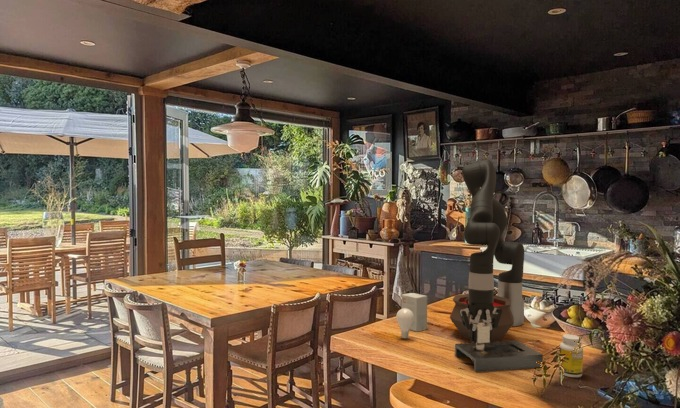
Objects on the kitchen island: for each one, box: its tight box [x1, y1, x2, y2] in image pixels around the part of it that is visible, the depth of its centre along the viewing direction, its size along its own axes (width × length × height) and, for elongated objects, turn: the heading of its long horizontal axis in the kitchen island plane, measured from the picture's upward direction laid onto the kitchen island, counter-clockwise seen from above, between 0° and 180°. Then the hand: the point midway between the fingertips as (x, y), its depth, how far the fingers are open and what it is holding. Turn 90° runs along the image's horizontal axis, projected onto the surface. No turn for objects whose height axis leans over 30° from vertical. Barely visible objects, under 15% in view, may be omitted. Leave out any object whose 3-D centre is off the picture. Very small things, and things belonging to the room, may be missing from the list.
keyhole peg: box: [471, 323, 490, 364], centre depth 145 cm, size 5×5×12 cm
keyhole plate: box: [454, 339, 544, 373], centre depth 146 cm, size 22×14×4 cm, turn 101°
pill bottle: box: [558, 333, 584, 378], centre depth 137 cm, size 6×6×11 cm
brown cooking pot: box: [449, 288, 514, 342], centre depth 172 cm, size 24×24×16 cm
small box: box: [401, 292, 428, 332], centre depth 182 cm, size 8×6×13 cm
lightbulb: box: [395, 308, 414, 340], centre depth 168 cm, size 6×6×11 cm
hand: (480, 341), depth 145 cm, fingers closed on keyhole peg, 4 cm apart
